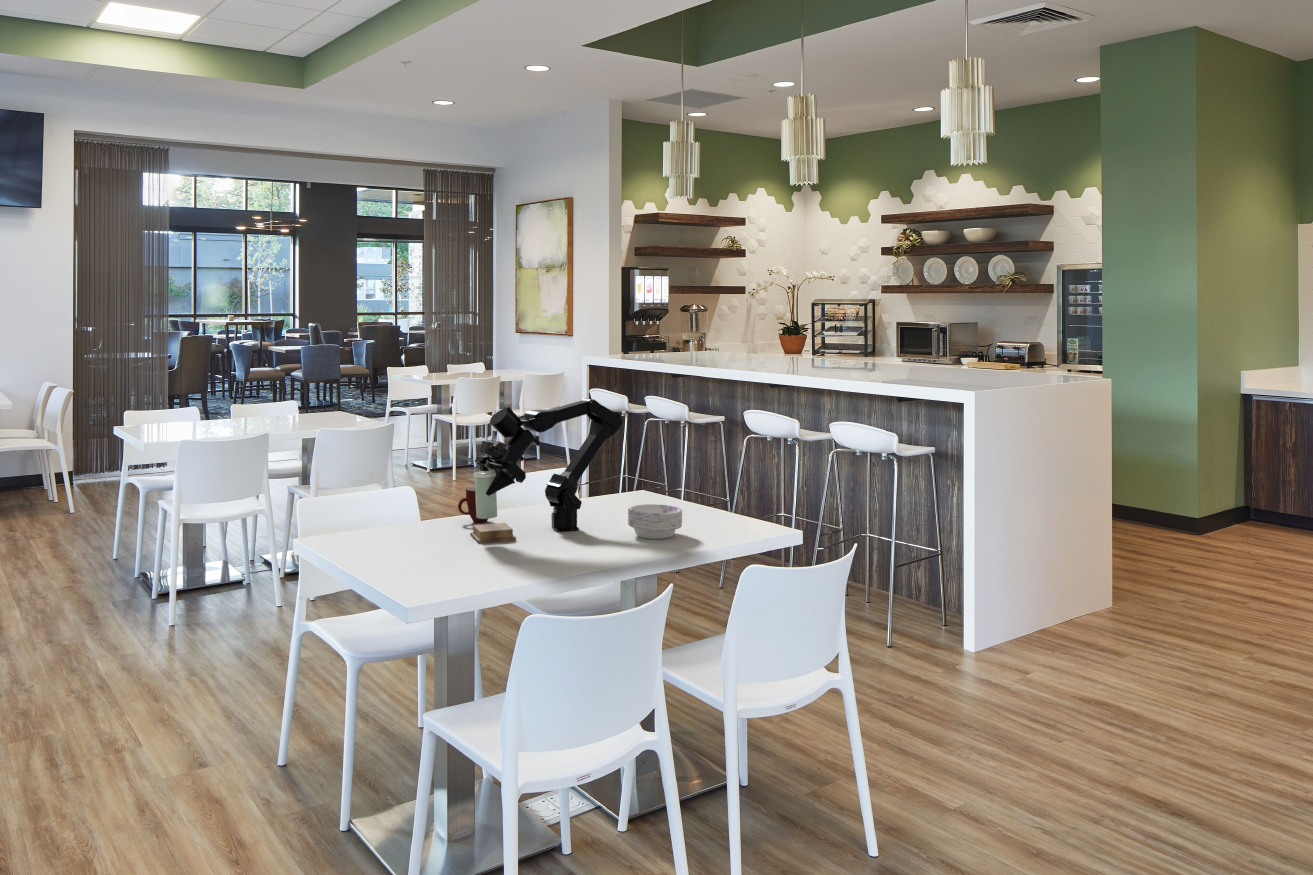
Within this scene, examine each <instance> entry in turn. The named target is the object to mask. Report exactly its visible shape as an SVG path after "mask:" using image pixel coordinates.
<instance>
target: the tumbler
mask: <svg viewBox="0 0 1313 875" xmlns="http://www.w3.org/2000/svg"><path fill="white" fill-rule="evenodd" d="M473 477H474V487H475V494H476V517H477V518H480V519H488V520H489V519H494V518H497V517H498V499H497V498H498V496H497V492H495V493H493V494H491V495H490V496H488V495H487V494H486V492H487V490H488V488H489V486H490V485H491V483H492V482H493V480H494V478H495V477H496V472H495V471H480V470H479V471H475V472H473Z"/></svg>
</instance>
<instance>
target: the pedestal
mask: <svg viewBox="0 0 1313 875" xmlns="http://www.w3.org/2000/svg"><path fill="white" fill-rule="evenodd" d="M472 528H473V529H472V531H471V532H470V537H471V538H472V539H473V540H474V541H475V542H476V543H477V544H487V543H489V544H490V543H501V542H513V541H517V537H516V536H515V535H514V532H513V531H514V529H513V528H512V527H511V526H510V525H508V524H507V522H496V523H481V524H473V525H472Z"/></svg>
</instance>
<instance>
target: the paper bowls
mask: <svg viewBox="0 0 1313 875" xmlns="http://www.w3.org/2000/svg"><path fill="white" fill-rule="evenodd" d="M627 525H628V526H629V527H630V528H633V529H634V532H635V535H637V536H638V537H639V538H643V539H646V538H647V539H648V540H665V539H669V538H671V537H672V536H674V534H675V533H676V530H678V529H681V528H682V526H683V509H682V508H681V507H679V506H675V505H671V504H661V503H660V504H659V503H656V504H655V503H647V504H646V503H644V504H642V503H641V504H636V505H635V504H634V505H631V506H629V507H628V508H627ZM647 539H646V540H647Z"/></svg>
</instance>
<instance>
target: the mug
mask: <svg viewBox="0 0 1313 875" xmlns="http://www.w3.org/2000/svg"><path fill="white" fill-rule="evenodd" d="M465 502H466V505H467V511H463V509H462V506H463V503H465ZM457 509H458V512H459V513H461V514H463V515H465V516H470V518H471V520H472V522H473V523H477V524H486V523H487V522H488V520H489V519H480V518H477V517H476V494H475V486H470V487H467V488H466V489H465V497H464V498H463V497H462V498H461V499H460V500H459V502H458V504H457Z"/></svg>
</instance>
